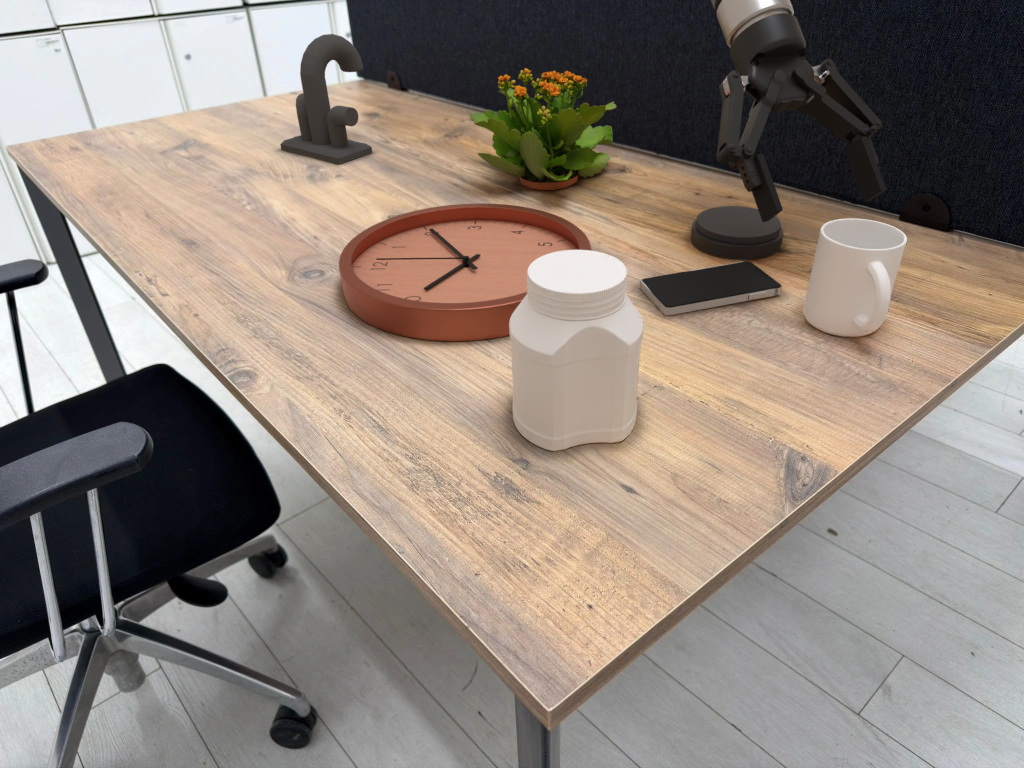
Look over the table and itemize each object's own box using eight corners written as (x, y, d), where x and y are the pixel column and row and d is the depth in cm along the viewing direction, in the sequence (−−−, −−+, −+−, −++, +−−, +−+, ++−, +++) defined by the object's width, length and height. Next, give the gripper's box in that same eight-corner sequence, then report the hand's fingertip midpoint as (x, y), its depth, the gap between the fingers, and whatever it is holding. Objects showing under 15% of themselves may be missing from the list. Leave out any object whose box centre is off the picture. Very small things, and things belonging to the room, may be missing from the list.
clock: (599, 307, 76) (308, 311, 78) (598, 340, 79) (315, 343, 80) (585, 200, 102) (366, 205, 104) (584, 227, 104) (371, 231, 106)
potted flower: (624, 208, 110) (630, 87, 100) (469, 212, 111) (461, 92, 101) (609, 157, 131) (614, 53, 121) (479, 161, 132) (473, 57, 122)
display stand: (772, 225, 103) (776, 205, 101) (788, 261, 93) (793, 239, 91) (687, 224, 104) (689, 204, 103) (694, 259, 95) (696, 238, 93)
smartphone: (638, 278, 88) (748, 259, 91) (637, 287, 89) (747, 268, 92) (667, 308, 82) (784, 286, 85) (666, 317, 83) (782, 296, 85)
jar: (617, 379, 72) (625, 239, 64) (649, 437, 65) (664, 288, 56) (504, 394, 71) (498, 253, 62) (524, 456, 63) (519, 305, 55)
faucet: (402, 143, 142) (389, 32, 131) (341, 165, 132) (321, 46, 121) (341, 130, 152) (324, 25, 140) (280, 149, 142) (256, 38, 130)
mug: (909, 356, 74) (940, 265, 68) (828, 358, 74) (851, 267, 68) (863, 301, 84) (886, 216, 78) (791, 303, 84) (809, 219, 78)
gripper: (829, 44, 88) (891, 203, 85) (649, 65, 81) (709, 239, 78) (873, 0, 81) (941, 171, 78) (679, 19, 74) (746, 209, 71)
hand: (825, 206), depth 78 cm, fingers open, 13 cm apart
